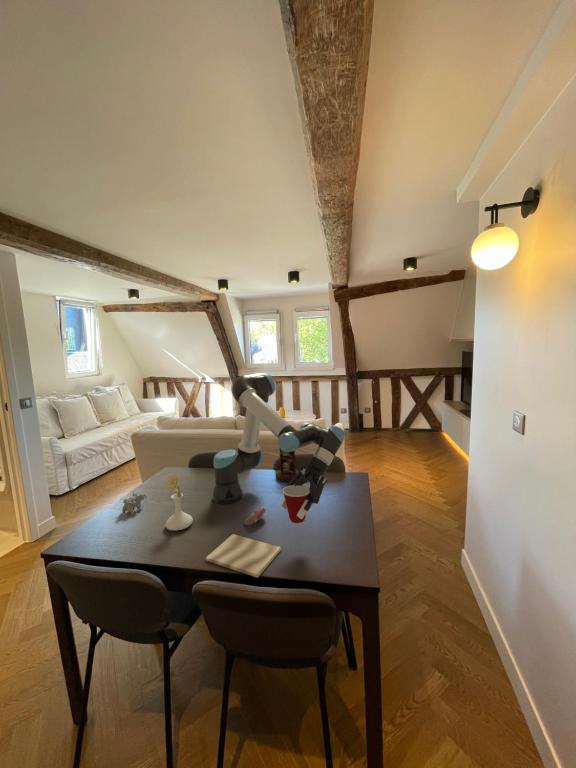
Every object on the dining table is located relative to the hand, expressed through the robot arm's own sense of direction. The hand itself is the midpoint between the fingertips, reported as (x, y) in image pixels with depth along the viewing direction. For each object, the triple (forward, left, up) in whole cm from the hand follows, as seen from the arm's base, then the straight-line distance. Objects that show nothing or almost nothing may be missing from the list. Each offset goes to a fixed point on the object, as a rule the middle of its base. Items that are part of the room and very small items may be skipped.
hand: (290, 512), depth 124 cm
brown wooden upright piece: (-31, +57, -14) cm, 66 cm away
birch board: (-14, -12, -14) cm, 23 cm away
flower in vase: (-51, -7, -14) cm, 53 cm away
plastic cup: (+1, +3, -4) cm, 5 cm away
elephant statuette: (-83, -4, -14) cm, 84 cm away
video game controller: (-23, +10, -14) cm, 28 cm away
